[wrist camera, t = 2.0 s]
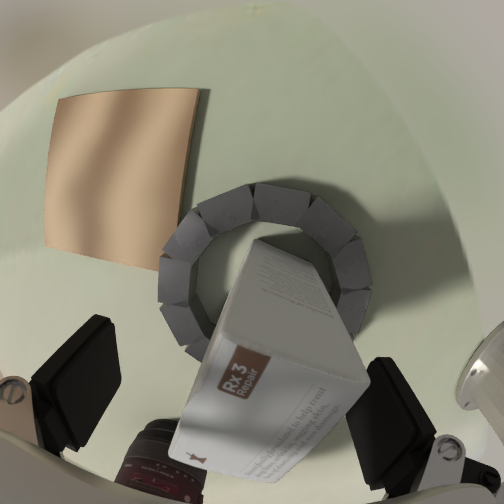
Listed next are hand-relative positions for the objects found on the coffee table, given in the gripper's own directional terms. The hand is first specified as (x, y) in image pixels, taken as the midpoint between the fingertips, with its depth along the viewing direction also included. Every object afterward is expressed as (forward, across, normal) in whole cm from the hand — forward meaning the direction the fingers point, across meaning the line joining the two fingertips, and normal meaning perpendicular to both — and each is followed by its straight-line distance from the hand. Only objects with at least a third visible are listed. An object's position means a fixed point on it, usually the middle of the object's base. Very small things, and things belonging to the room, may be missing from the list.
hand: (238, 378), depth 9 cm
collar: (+9, -1, 0) cm, 9 cm away
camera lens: (+10, +5, +19) cm, 22 cm away
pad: (+10, +11, -6) cm, 16 cm away
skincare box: (+10, -1, 0) cm, 10 cm away
